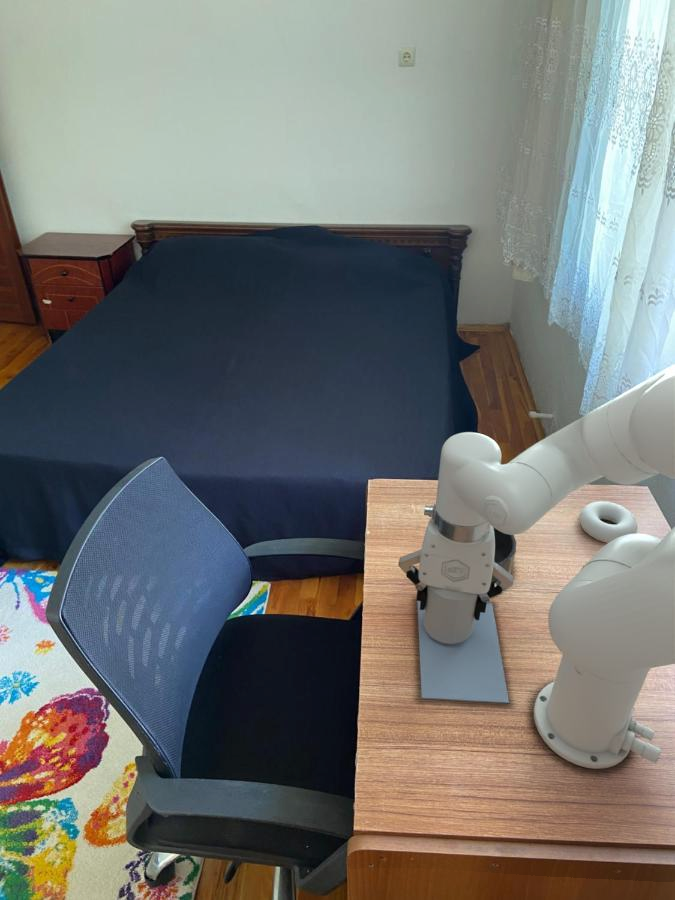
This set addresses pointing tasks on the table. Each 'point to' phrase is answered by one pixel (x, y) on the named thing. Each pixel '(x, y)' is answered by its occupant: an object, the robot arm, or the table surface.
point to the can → (449, 614)
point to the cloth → (463, 664)
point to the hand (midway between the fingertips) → (450, 607)
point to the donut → (609, 512)
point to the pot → (504, 551)
